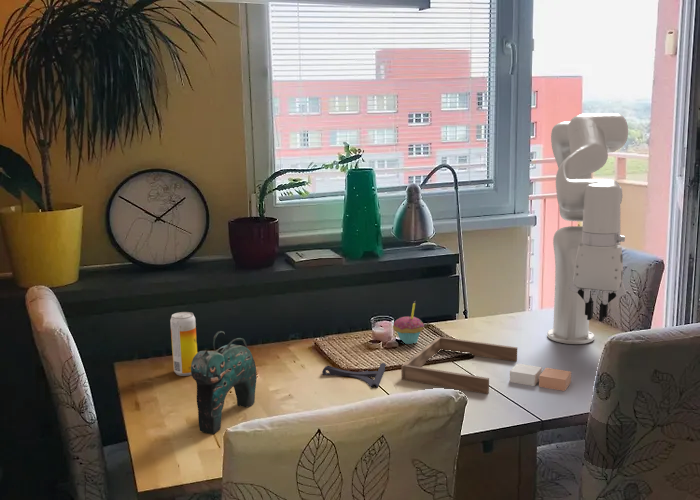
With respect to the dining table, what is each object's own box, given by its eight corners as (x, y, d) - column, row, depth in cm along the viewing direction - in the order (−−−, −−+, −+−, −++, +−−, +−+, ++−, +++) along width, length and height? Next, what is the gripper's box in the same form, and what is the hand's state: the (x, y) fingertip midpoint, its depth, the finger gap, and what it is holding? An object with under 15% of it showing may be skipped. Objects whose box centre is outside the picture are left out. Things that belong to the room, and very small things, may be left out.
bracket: (329, 366, 194) (328, 356, 193) (386, 369, 191) (386, 358, 191) (316, 387, 180) (316, 376, 180) (378, 391, 177) (377, 379, 177)
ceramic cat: (213, 439, 152) (208, 344, 148) (186, 433, 154) (180, 340, 151) (262, 402, 170) (259, 317, 166) (238, 398, 172) (234, 314, 168)
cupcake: (428, 339, 212) (429, 298, 210) (414, 348, 205) (415, 305, 203) (402, 335, 217) (402, 294, 214) (387, 343, 210) (387, 301, 207)
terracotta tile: (545, 379, 182) (546, 367, 181) (570, 383, 179) (571, 371, 178) (538, 387, 177) (539, 375, 176) (564, 392, 174) (565, 379, 173)
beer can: (203, 369, 191) (199, 312, 188) (188, 378, 186) (184, 319, 183) (183, 366, 194) (180, 310, 191) (168, 374, 188) (164, 316, 185)
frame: (438, 348, 204) (438, 336, 203) (517, 360, 194) (517, 347, 193) (401, 379, 182) (401, 365, 182) (487, 394, 172) (487, 379, 172)
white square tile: (517, 375, 185) (517, 363, 184) (541, 379, 182) (541, 367, 181) (509, 383, 180) (509, 371, 179) (534, 387, 177) (534, 375, 176)
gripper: (640, 239, 166) (635, 319, 170) (566, 234, 174) (563, 311, 177) (635, 245, 160) (630, 328, 164) (559, 239, 167) (556, 319, 171)
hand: (595, 318), depth 170 cm, fingers closed
